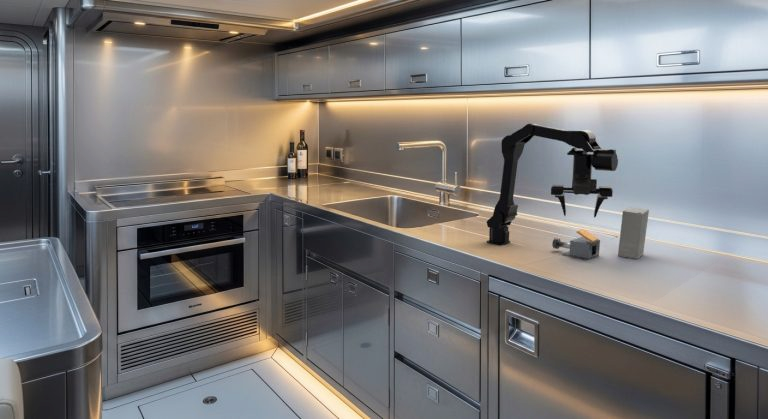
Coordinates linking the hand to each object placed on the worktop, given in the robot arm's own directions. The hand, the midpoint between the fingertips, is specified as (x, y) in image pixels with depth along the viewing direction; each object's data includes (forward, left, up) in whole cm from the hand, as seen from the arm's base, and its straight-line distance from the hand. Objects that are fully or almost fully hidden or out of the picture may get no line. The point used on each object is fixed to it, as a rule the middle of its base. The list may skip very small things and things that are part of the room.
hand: (579, 216), depth 176 cm
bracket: (0, +2, -13) cm, 14 cm away
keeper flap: (+2, +2, -7) cm, 7 cm away
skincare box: (+12, +14, -14) cm, 23 cm away
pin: (-4, +2, -13) cm, 13 cm away
